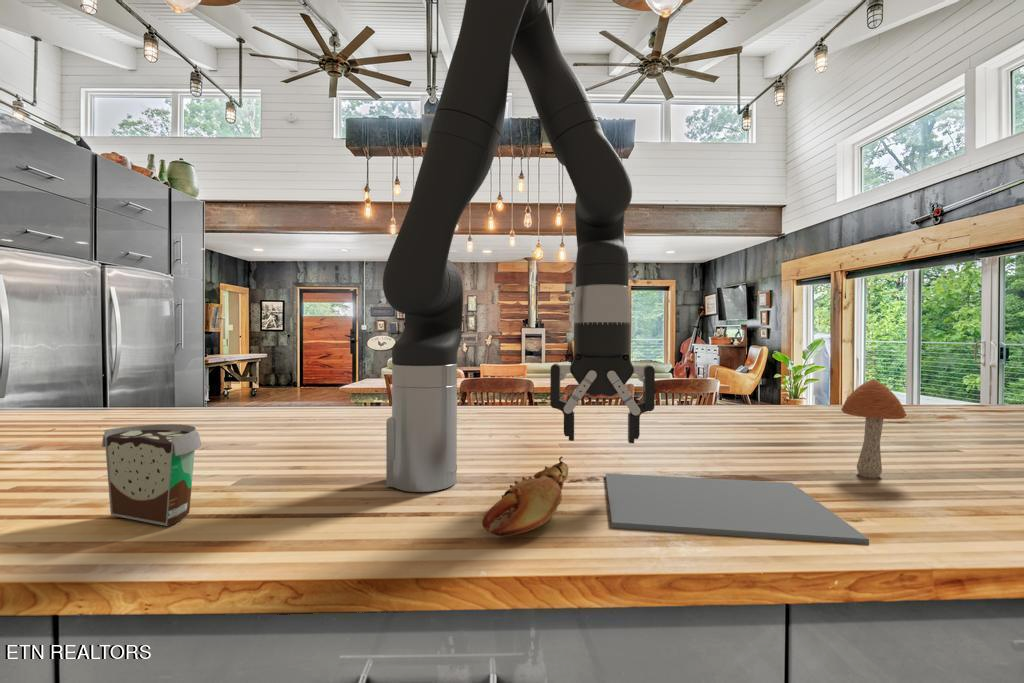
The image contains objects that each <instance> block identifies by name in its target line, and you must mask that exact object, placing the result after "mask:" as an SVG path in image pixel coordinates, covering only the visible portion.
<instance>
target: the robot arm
mask: <svg viewBox="0 0 1024 683" xmlns="http://www.w3.org/2000/svg"><path fill="white" fill-rule="evenodd" d="M551 19H552V18H551V16H550V12H549V7H548V3H547V0H465V5H464V10H463V16H462V19H461V26H460V30H459V33H458V38H457V41H456V45H455V48H454V51H453V53H452V57H451V59H450V64H449V67H448V70H447V73H446V77H445V81H444V85H443V87H442V91H441V94H440V97H439V101H438V102H437V106H436V109H435V112H434V116H433V120H432V123H431V127H430V131H429V133H428V137H427V142H426V145H425V146H426V147H425V150H424V155H423V157H422V161H421V163H420V168H419V171H418V172H417V173H418V174H417V177H416V181H415V184H414V186H413V192H412V195H411V199H410V201H409V205H408V208H407V210H406V214H405V216H404V219H403V221H402V224H401V226H400V228H399V231H398V234H397V236H396V238H395V241H394V244H393V246H392V248H391V251H390V252H389V255H388V257H387V258H388V259H387V261H386V264H385V267H384V271H383V275H382V289H383V294H384V297H385V300H386V301H387V303H388V304H389V306H390V307H391V308H392V309H393V310H395V311H396V312H398V313H400V314H403V315H404V323H403V331H402V334H401V335H400V337H399V339H398V340H397V341H396V342H395V343H394V344H393V346H392V348H391V363H392V365H391V375H392V376H391V381H392V382H391V383H392V384H391V385H392V386H391V387H392V388H391V416H390V417H388V418H386V424H385V425H386V429H385V431H386V432H385V433H386V434H385V435H386V438H385V439H386V454H385V455H386V456H385V457H386V458H385V459H386V461H385V462H386V464H385V467H386V468H385V469H386V471H385V472H386V480H385V481H386V482H385V484H386V485H385V486H386V487H388V488H394V489H397V490H398V491H399V490H400V491H403V492H412V493H425V492H426V493H427V492H435V491H441V490H445V489H447V488H450V487H453V485H456V482H457V479H458V478H457V476H458V474H457V471H458V464H457V463H458V462H457V459H458V457H457V456H458V455H457V453H458V452H457V451H458V446H457V445H458V441H457V440H458V438H457V437H458V434H457V433H458V381H457V380H458V352H459V347H460V345H461V342H462V334H463V313H464V312H463V310H464V287H463V286H464V285H463V279H462V276H461V273H460V271H459V269H458V267H457V266H456V264H454V263H453V262H452V260H449V254H450V249H451V245H452V241H453V238H454V235H455V231H456V228H457V225H458V223H459V220H460V219H461V217H462V214H463V213H464V211H465V209H466V207H467V206H469V203H470V202H471V201H472V199H473V198H474V196H475V195H476V194H477V192H478V190H480V188H481V186H482V184H483V183H484V181H485V179H486V178H487V176H488V174H489V172H490V169H491V166H492V163H493V161H494V158H495V155H496V152H497V151H496V150H497V148H498V144H499V141H500V137H501V134H502V130H503V126H504V121H505V117H506V116H505V114H506V108H507V100H508V89H509V76H510V66H511V65H510V64H511V59H512V58H513V59H514V61H515V64H516V65H517V67H518V68H519V72H520V73H521V74H522V77H523V79H524V82H525V85H526V86H527V88H528V91H529V94H530V97H531V100H532V102H533V105H534V108H535V111H536V112H537V116H538V118H539V120H540V124H541V126H542V128H543V130H544V131H543V132H544V133H545V135H546V138H547V140H548V142H549V145H550V147H551V149H552V152H553V154H554V156H555V157H556V159H557V161H558V162H559V164H561V165H562V166H563V167H565V170H566V172H567V174H568V176H569V178H570V180H571V183H572V186H573V188H574V189H573V190H574V192H575V194H576V195H575V203H574V204H575V205H574V215H575V216H574V218H575V219H574V220H575V232H576V243H577V244H576V247H577V253H576V260H575V262H576V263H575V296H574V304H573V359H572V362H571V364H559V363H553V364H552V365H551V366H550V388H549V390H550V392H549V393H550V400H549V402H550V407H551V408H553V409H557V410H559V411H561V412H562V415H563V434H564V436H565V437H568V441H569V442H574V441H575V411H574V410H575V408H576V406H577V405H578V404H579V402H580V401H581V399H582V398H583V397H584V396H585V394H586V395H588V396H593V397H594V396H600V395H603V396H606V397H613V396H616V395H617V394H618V395H619V396H620V398H621V399H622V401H623V402H624V404H625V405H626V406H627V408H628V410H629V412H628V413H627V441H628V442H627V443H628V444H635V440H638V439H639V437H640V434H641V433H640V427H641V426H640V422H641V421H640V417H641V415H642V414H643V413H648V412H652V411H654V410H655V406H656V405H655V399H656V398H655V397H656V396H655V393H656V392H655V391H656V390H655V387H656V386H655V385H656V384H655V380H656V376H655V374H656V373H655V372H656V370H655V367H654V366H652V365H650V364H646V365H633V363H632V361H631V298H630V290H629V275H630V274H629V253H628V250H627V248H626V246H625V214H626V213H625V212H626V210H627V209H628V208H629V205H630V204H631V201H632V198H633V197H632V196H633V187H632V182H631V178H630V176H629V173H628V171H627V169H626V167H625V165H624V163H623V161H622V160H621V158H620V156H619V154H618V153H617V152H616V150H615V149H614V147H613V145H612V144H611V142H610V141H609V140H608V138H607V137H606V136H605V134H604V131H603V128H602V126H601V122H600V120H599V119H598V115H597V113H596V111H595V109H594V107H593V104H592V102H591V100H590V98H589V95H588V93H587V91H586V89H585V87H584V85H583V83H582V82H581V80H580V79H579V76H578V75H577V74H576V72H575V71H574V70H573V68H572V66H571V65H570V64H569V62H568V61H567V59H566V57H565V56H564V54H563V52H562V49H561V48H560V45H559V42H558V40H557V38H556V34H555V32H554V28H553V23H552V20H551ZM568 373H570V374H571V376H572V377H573V378H574V379H575V381H576V382H577V384H578V385H577V386H576V387H575V389H574V390H573V392H572V394H571V395H570V397H569V398H568V399H567V400H563V399H561V381H564V380H565V379H566V376H567V374H568ZM633 374H636V376H637V379H638V380H639V381H640V382H642V383H643V385H642V401H640V402H637V403H636V401H635V399H634V398H633V397H632V395H631V393H630V392H629V390H628V389H627V387H626V386H625V385H626V384H627V382H628V381H630V378H632V376H633Z"/></svg>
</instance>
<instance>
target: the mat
mask: <svg viewBox="0 0 1024 683" xmlns="http://www.w3.org/2000/svg"><path fill="white" fill-rule="evenodd" d="M605 482H606V489H607V490H606V491H607V499H608V507H609V515H610V522H611V524H610V525H611V528H614V529H615V528H616V529H625V530H626V529H627V530H628V529H629V530H641V531H642V530H643V531H657V532H672V533H676V532H677V533H687V534H688V533H689V534H700V535H701V534H704V535H714V536H715V535H718V536H729V537H730V536H731V537H732V536H733V537H745V538H746V537H748V538H762V539H763V538H765V539H780V540H781V539H782V540H794V541H795V540H796V541H814V542H826V543H830V542H831V543H843V544H844V543H845V544H847V543H848V544H860V545H870V539H869V537H867V536H865V535H864V534H863V533H862V532H860V531H859V530H858V529H856V528H854V527H853V526H852V525H851V524H849V523H848V522H846V521H845V520H844V519H842V517H839V516H838V515H837V514H836V513H834V512H833V511H831V510H830V509H829V508H827V507H826V506H825V505H823V504H822V503H820V502H819V501H818V500H816V499H815V498H814V497H812V496H811V495H809V494H808V493H806V492H805V491H804V490H802V489H801V488H800V487H798V486H797V485H796V484H795V483H793V482H788V481H787V482H786V481H767V480H766V481H764V480H749V479H748V480H745V479H744V480H742V479H729V478H728V479H727V478H726V479H725V478H705V477H690V476H689V477H688V476H687V477H686V476H685V477H684V476H669V475H668V476H667V475H664V476H663V475H645V474H627V473H626V474H625V473H610V472H609V473H607V472H606V473H605Z"/></svg>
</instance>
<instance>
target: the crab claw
mask: <svg viewBox="0 0 1024 683" xmlns="http://www.w3.org/2000/svg"><path fill="white" fill-rule="evenodd" d="M562 459H563V456H560V457H559V459H558V461H559V462H558V463H555V464H553V465H551V466H549V467H548V466H546V465H545V466H544V469H543V470H540V471H538V472H536V473H535V474H534V475H533V478H532V477H531V476H529V477H528V478H527V479H526V478H525V477H522V481H518V480H517V481H516V480H514V485H513V484H512V485H511V484H510V485H509V488H508V489H507V490H506V491H505V492H504V494H501V498H500V499H499V500H498V501H497V502H495V504H493V505H492V506H491V507H490V509H488V510H487V512H486V513H485V514H484V515H483V518H482V521H481V524H482V527H483V528H484V530H486V531H487V532H488V533H490V534H493V535H494V536H497V537H508V536H515V535H519V534H522V533H527V532H529V531H532V530H534V529H537V528H539V527H541V526H542V525H545V524H546V523H547V522H548V521H550V520H551V518H552V517H553V516H554V515H555V513H556V511H557V509H558V507H559V505H560V504H561V502H562V500H563V494H562V490H563V486H564V482H565V481H566V480H567V479H568V475H569V466H568V464H567V463H565V462H564V461H562ZM506 515H507V519H505V520H504V521H502V522H501V523H500V525H499V526H497V527H496V528H493V529H491V526H492V524H493V523H495V522H496V520H497V521H498V520H502V518H503V516H506Z"/></svg>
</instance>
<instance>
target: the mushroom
mask: <svg viewBox="0 0 1024 683" xmlns="http://www.w3.org/2000/svg"><path fill="white" fill-rule="evenodd" d="M841 411H842V413H843V414H846V415H850V416H854V417H859V418H860V417H861V418H865V420H864V421H865V424H864V436H863V437H864V438H863V443H862V447H861V449H860V453H859V457H858V460H857V464H856V470H857V473H858V475H859V476H860V477H865V478H871V479H877V478H880V476H881V475H882V474H883V473H882V472H883V467H882V466H883V465H882V454H881V439H882V433H883V432H882V431H883V426H884V420H899V419H904V418H905V417H907V413H906V411H905V408H904V406H903V404H902V403H901V401H900V400H899V398H898V397H897V396H896V394H894V393H893V391H891V389H889V387H887V386H886V385H885V384H883V383H882V382H880V381H878V380H876V379H874V378H873V379H870V380H868V381H867V382H864V383H862V384H861V385H859V386H858V387H857V388H855V389H854V390H853V391H852V392H851V394H849V395H848V397H847V398H846V400H845V401H844V403H843V405H842V407H841Z"/></svg>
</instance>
